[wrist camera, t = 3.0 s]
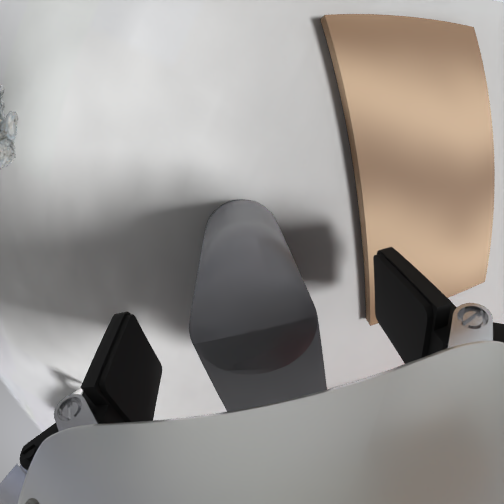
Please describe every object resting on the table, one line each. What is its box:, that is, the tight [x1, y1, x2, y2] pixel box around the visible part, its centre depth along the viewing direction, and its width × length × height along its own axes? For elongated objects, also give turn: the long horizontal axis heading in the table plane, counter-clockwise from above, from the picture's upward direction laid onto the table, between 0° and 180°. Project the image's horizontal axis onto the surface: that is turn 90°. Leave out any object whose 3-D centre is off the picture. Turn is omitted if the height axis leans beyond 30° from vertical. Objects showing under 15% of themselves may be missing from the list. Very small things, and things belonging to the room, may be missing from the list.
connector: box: [189, 200, 327, 412], centre depth 11 cm, size 9×3×6 cm, turn 13°
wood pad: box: [320, 14, 494, 326], centre depth 11 cm, size 14×8×1 cm, turn 13°
